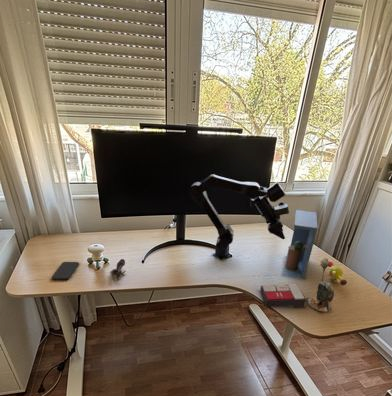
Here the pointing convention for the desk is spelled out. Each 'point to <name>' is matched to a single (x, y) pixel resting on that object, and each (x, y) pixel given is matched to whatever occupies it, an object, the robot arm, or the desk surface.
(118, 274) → the dark squid figurine
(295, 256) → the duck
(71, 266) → the phone
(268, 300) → the red and grey box
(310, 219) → the cubby
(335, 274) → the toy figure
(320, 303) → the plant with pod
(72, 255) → the desk surface
